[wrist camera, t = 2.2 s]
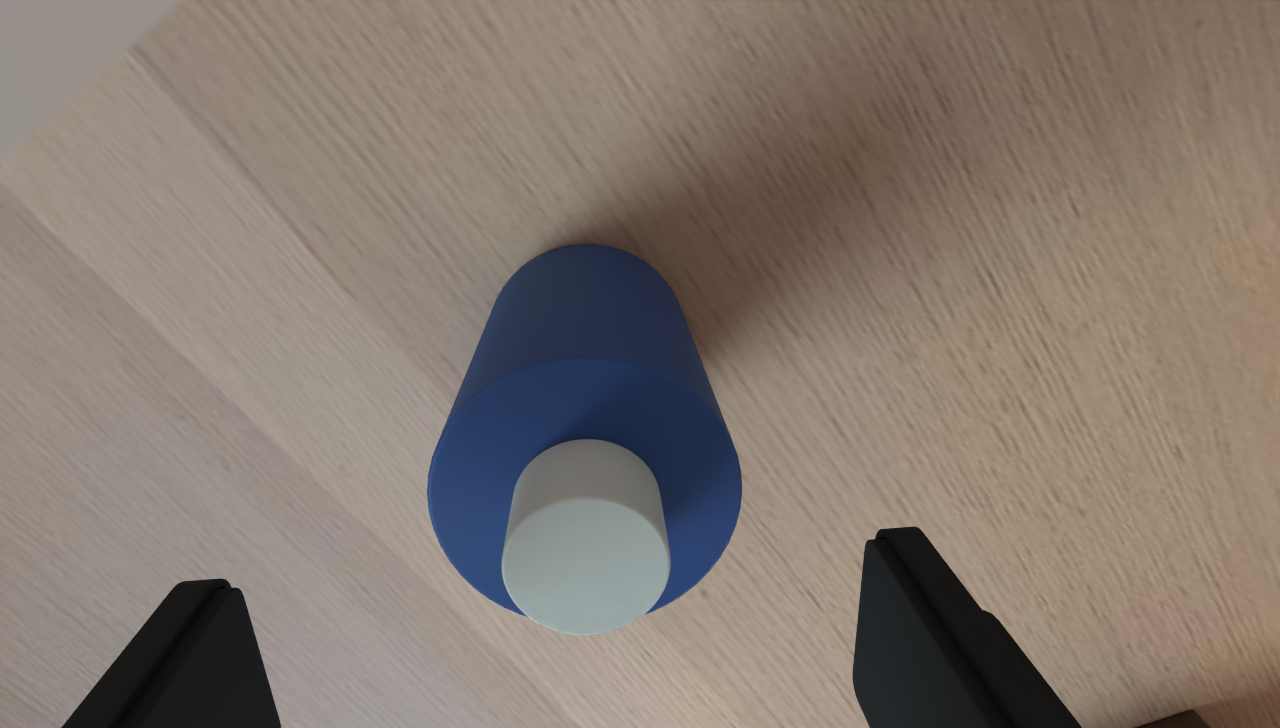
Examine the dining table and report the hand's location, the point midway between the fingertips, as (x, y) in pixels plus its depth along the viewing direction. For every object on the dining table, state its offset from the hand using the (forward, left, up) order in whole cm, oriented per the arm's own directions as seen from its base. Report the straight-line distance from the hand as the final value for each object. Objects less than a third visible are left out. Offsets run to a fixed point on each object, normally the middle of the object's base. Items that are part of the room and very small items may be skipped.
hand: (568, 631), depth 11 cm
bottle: (0, 0, -12) cm, 12 cm away
